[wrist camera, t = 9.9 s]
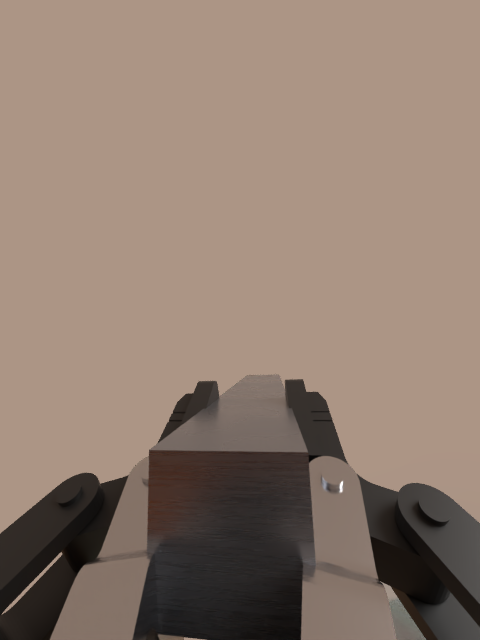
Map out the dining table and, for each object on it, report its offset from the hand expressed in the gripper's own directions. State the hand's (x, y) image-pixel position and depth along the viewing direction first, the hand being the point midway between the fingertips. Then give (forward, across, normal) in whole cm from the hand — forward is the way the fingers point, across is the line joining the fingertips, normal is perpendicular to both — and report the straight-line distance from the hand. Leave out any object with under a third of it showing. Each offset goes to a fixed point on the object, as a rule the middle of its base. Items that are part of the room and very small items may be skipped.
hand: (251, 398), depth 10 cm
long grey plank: (+2, 0, +4) cm, 5 cm away
